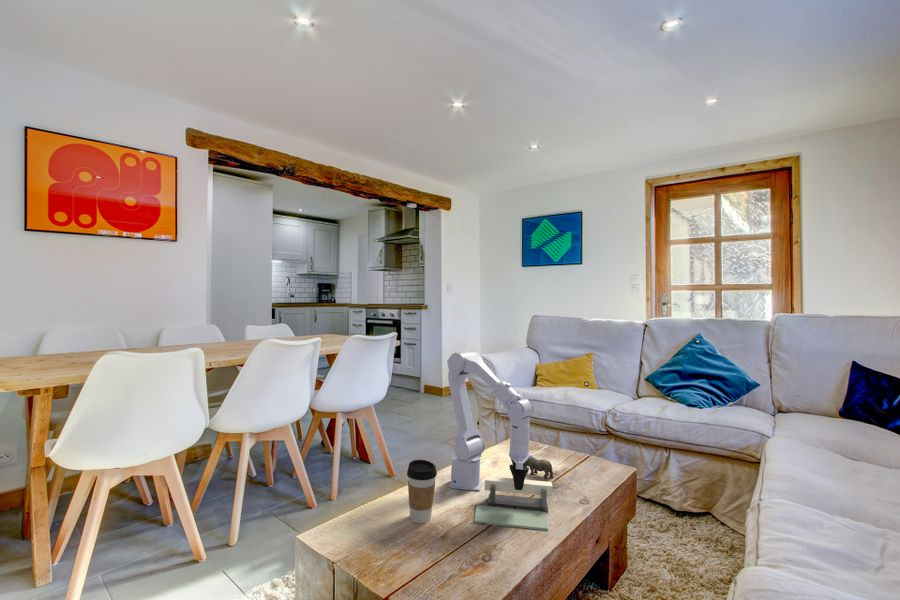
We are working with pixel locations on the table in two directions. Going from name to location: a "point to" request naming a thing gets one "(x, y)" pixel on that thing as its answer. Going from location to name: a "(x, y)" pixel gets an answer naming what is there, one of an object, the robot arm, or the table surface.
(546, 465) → the rhino figurine
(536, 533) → the table surface
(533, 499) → the rack
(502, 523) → the mat
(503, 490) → the rail
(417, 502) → the coffee cup
